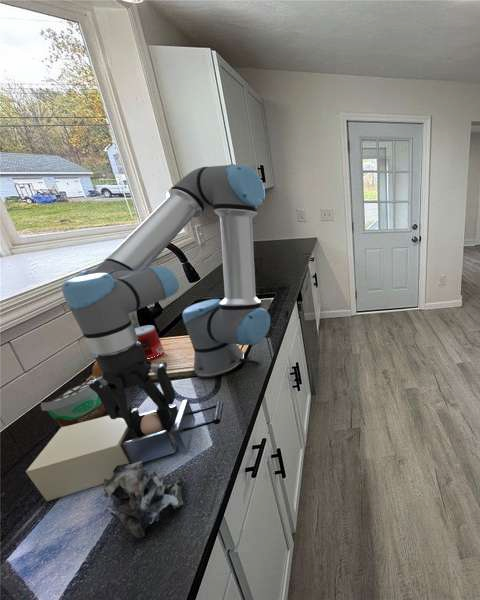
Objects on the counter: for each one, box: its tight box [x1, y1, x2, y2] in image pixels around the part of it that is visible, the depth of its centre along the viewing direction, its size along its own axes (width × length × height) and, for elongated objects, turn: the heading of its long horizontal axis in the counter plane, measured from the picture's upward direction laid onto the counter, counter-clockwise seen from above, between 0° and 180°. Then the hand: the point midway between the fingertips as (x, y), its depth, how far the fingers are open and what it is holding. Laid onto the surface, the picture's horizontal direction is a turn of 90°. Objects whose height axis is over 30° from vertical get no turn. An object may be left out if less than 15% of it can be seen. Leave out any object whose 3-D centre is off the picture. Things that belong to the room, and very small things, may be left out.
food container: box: [40, 375, 106, 428], centre depth 85 cm, size 12×6×10 cm, turn 168°
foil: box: [98, 460, 184, 539], centre depth 61 cm, size 12×11×15 cm
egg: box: [140, 413, 163, 435], centre depth 73 cm, size 4×4×6 cm
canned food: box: [134, 324, 165, 362], centre depth 115 cm, size 8×8×11 cm
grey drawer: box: [120, 398, 224, 465], centre depth 76 cm, size 21×11×7 cm, turn 113°
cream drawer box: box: [25, 407, 141, 502], centre depth 70 cm, size 15×13×9 cm
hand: (156, 432), depth 74 cm, fingers closed on egg, 4 cm apart
